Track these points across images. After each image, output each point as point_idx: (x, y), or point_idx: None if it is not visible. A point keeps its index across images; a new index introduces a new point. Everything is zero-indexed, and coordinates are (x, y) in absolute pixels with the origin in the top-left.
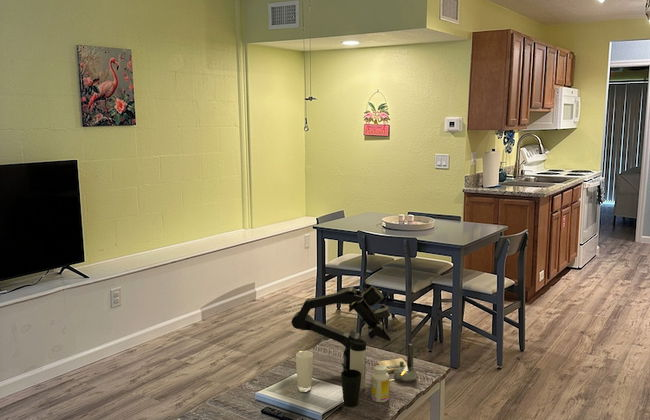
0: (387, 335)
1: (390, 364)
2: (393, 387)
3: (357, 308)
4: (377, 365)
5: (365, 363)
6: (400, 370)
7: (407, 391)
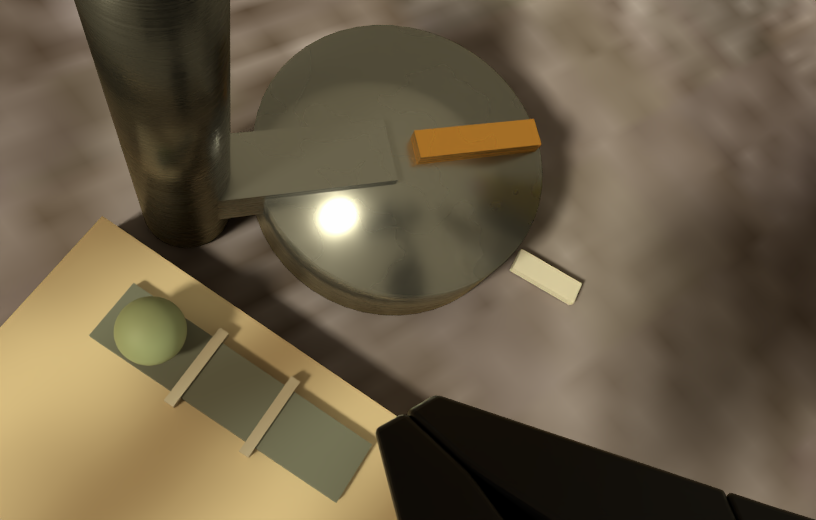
0: (638, 468)
1: (214, 506)
2: (652, 189)
3: None
4: None
5: None
6: (405, 219)
7: (620, 47)
